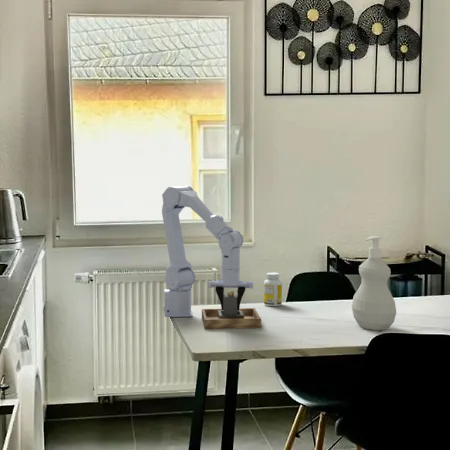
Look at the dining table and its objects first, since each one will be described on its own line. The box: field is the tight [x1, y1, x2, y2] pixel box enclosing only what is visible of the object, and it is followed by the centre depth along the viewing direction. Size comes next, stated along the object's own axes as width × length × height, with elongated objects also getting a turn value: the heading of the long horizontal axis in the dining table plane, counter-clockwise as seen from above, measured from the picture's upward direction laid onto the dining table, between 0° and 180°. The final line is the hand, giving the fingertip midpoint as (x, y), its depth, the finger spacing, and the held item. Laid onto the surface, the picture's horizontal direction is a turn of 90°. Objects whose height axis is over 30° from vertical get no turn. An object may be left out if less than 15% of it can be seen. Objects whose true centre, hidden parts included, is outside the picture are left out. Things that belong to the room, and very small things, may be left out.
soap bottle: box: [351, 235, 397, 331], centre depth 252 cm, size 17×12×29 cm
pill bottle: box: [263, 271, 283, 307], centre depth 287 cm, size 6×6×12 cm
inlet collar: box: [217, 310, 244, 319], centre depth 259 cm, size 8×8×2 cm
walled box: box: [201, 307, 262, 330], centre depth 259 cm, size 18×16×3 cm
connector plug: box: [223, 290, 238, 315], centre depth 259 cm, size 4×4×8 cm
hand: (230, 309), depth 259 cm, fingers closed on connector plug, 4 cm apart
